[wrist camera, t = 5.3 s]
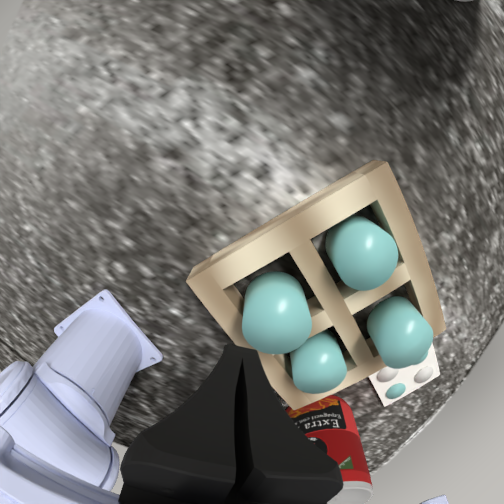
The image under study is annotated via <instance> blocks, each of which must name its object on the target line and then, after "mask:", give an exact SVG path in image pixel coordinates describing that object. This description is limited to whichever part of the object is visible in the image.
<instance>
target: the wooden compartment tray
mask: <svg viewBox="0 0 504 504" xmlns="http://www.w3.org/2000/svg"><path fill="white" fill-rule="evenodd" d="M369 204H370V206H371V208H372V210H373V212H374V214H375V216H376V219H377V221H378V223H379V225H380V227H381V229H383V230H384V231H385V232H387V233H388V234H389V235H390V236H391V237H392V238H393V239H394V241H395V243H396V245H397V249H398V261H397V265H396V268H395V270H394V272H393V274H392V275H391V277H390V278H389V279H388V280H387V281H386V282H385V283H384V284H382V285H381V286H379V287H377V288H375V289H372V290H367V291H361V290H356V289H353V288H351V287H349V286H348V285H346V284H345V283H344V282H343V280H342V281H340V282H338V283H336V284H335V282H334V280H333V278H332V277H331V275H330V273H329V271H328V269H327V268H326V266H325V264H324V262H323V261H322V259H321V257H320V255H319V253H318V252H317V250H316V248H315V246H314V245H313V243H312V241H311V240H310V239H312V238H313V237H315V236H317V235H318V234H320V233H322V232H323V231H325V230H327V229H329V228H330V227H332V226H334V225H335V224H337V223H339V222H340V221H342V220H344V219H345V218H347V217H349V216H351V215H352V214H354V213H356V212H357V211H359V210H361V209H362V208H364V207H366V206H367V205H369ZM288 252H290V254H291V256H292V257H293V259H294V261H295V262H296V264H297V265H298V267H299V269H300V270H301V272H302V274H303V275H304V277H305V279H306V280H307V282H308V283H309V285H310V287H311V288H312V290H313V292H314V293H315V296H313V297H311V298H310V299H308V300H306V301H307V305H308V308H309V312H310V316H311V320H312V329H311V333H310V335H309V337H308V338H310V337H312V336H314V335H316V334H318V333H320V332H322V331H323V330H325V329H327V328H329V327H331V326H333V325H334V327H335V329H336V331H337V332H338V334H339V336H340V337H341V339H342V341H343V343H344V344H345V346H346V348H347V349H348V350H346V351H344V352H343V353H342V355H343V358H344V361H345V364H346V367H347V374H346V377H345V379H344V380H343V381H342V383H341V384H340V385H338V386H337V387H336V388H334V389H332V390H330V391H328V392H325V393H320V394H310V393H305V392H303V391H301V390H299V389H298V388H297V387H296V386H295V384H294V381H293V374H292V366H291V361H290V360H289V358H288V357H287V356H286V354H285V353H284V354H267V353H263V352H260V351H258V350H257V352H258V354H259V357H260V360H261V363H262V366H263V368H264V371H265V373H266V376H267V378H268V380H269V382H270V384H271V386H272V387H273V388H274V389H275V390H276V392H277V393H278V394H279V395H280V396H281V397H282V398H283V399H284V400H285V401H286V403H287V404H288V405H289V406H290V407H291V408H292V409H293V410H296V409H299V408H301V407H304V406H306V405H308V404H311V403H313V402H315V401H318V400H320V399H322V398H325V397H327V396H329V395H331V394H333V393H336V392H338V391H340V390H342V389H344V388H346V387H348V386H350V385H352V384H354V383H356V382H358V381H360V380H362V379H364V378H366V377H368V376H370V375H372V374H374V373H376V372H377V371H379V370H381V369H383V368H385V367H387V366H386V365H385V364H384V362H383V360H382V358H381V356H380V354H379V352H378V350H377V348H376V346H375V344H374V342H373V340H372V339H371V337H370V338H368V339H367V340H365V339H364V337H363V335H362V333H361V331H360V329H359V327H358V325H357V323H356V321H355V319H354V317H353V314H355V313H356V312H358V311H360V310H362V309H363V308H365V307H367V306H369V305H370V304H372V303H374V302H375V301H377V300H379V299H380V298H382V297H384V296H385V295H387V294H389V293H390V292H392V291H393V290H395V289H397V288H398V287H400V286H401V285H403V284H404V285H405V288H406V291H407V293H408V296H409V299H410V302H411V303H412V305H413V306H414V307H415V308H416V309H417V310H418V312H419V313H420V314H421V315H422V316H423V318H424V319H425V320H426V321H427V322H428V324H429V325H430V326H431V328H432V330H433V338H434V337H435V336H437V335H438V334H440V333H441V332H443V331H444V330H446V326H445V321H444V317H443V313H442V309H441V305H440V301H439V297H438V294H437V290H436V287H435V283H434V280H433V276H432V273H431V270H430V267H429V264H428V261H427V258H426V255H425V252H424V249H423V246H422V243H421V240H420V237H419V235H418V232H417V229H416V227H415V224H414V221H413V219H412V216H411V214H410V211H409V209H408V206H407V204H406V202H405V199H404V197H403V195H402V192H401V190H400V188H399V186H398V183H397V181H396V179H395V177H394V175H393V172H392V170H391V168H390V166H389V164H388V162H385V161H377V160H372V161H371V162H369V163H367V164H365V165H364V166H362V167H360V168H358V169H357V170H355V171H353V172H352V173H350V174H348V175H346V176H345V177H343V178H341V179H339V180H338V181H336V182H334V183H333V184H331V185H329V186H327V187H326V188H324V189H322V190H321V191H319V192H317V193H316V194H314V195H312V196H310V197H309V198H307V199H305V200H304V201H302V202H300V203H299V204H297V205H295V206H294V207H292V208H290V209H289V210H287V211H285V212H284V213H282V214H280V215H278V216H277V217H275V218H273V219H272V220H270V221H268V222H267V223H265V224H263V225H262V226H260V227H258V228H257V229H255V230H254V231H252V232H250V233H249V234H247V235H245V236H244V237H242V238H240V239H239V240H237V241H235V242H234V243H232V244H230V245H229V246H227V247H226V248H224V249H222V250H221V251H219V252H217V253H216V254H214V255H212V256H211V257H209V258H208V259H206V260H204V261H203V262H201V263H199V264H198V265H196V266H195V267H193V269H192V271H191V273H190V275H189V277H188V278H187V280H186V282H187V284H188V285H189V286H190V288H191V289H192V290H193V291H194V293H195V294H196V295H197V297H198V298H199V299H200V301H201V302H202V303H203V304H204V306H205V307H206V308H207V309H208V311H209V312H210V313H211V315H212V316H213V317H214V318H215V320H216V321H217V322H218V323H219V325H220V326H221V327H222V328H223V329H224V331H225V332H226V333H227V334H228V336H229V337H230V338H231V339H232V340H233V342H234V343H235V344H236V345H237V346H241V347H245V348H250V349H255V348H253V347H252V346H251V345H250V344H249V343H248V342H247V341H246V339H245V337H244V335H243V332H242V320H243V310H244V301H245V299H244V298H243V297H242V295H241V294H240V293H239V291H238V290H237V288H236V287H235V286H234V284H233V283H235V282H237V281H239V280H240V279H242V278H244V277H246V276H248V275H249V274H251V273H253V272H255V271H256V270H258V269H260V268H261V267H263V266H265V265H267V264H268V263H270V262H272V261H274V260H275V259H277V258H279V257H281V256H282V255H284V254H286V253H288ZM255 350H256V349H255Z"/></svg>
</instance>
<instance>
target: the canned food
mask: <svg viewBox="0 0 504 504" xmlns="http://www.w3.org/2000/svg"><path fill="white" fill-rule="evenodd" d="M285 411H286V412H287V413H288V415H289V416H290V418H291V419H292V420H293V422H294V423H295V424H296V425H297V426H298V428H299V429H300V430H301V431H302V432H303V433H304V434H305V435H306V436H307V437H308V438H309V439H310V440H311V441H312V442H313V443H314V444H315V445H316V446H317V447H318V448H319V449H321V450H322V451H323V452H325V453H326V454H327V455H328V456H330V457H331V458H332V459H334V460H335V461H336V462H338V465H339V468H340V471H341V474H342V479H343V484H344V486H343V489H342V490H341V491H340V492H339V493H338V494H337V495H336V496H335V497H333V498H332V499H331V500H330V501H328V502H327V504H364V503H365V502H367V501H368V500H369V499H370V498H371V497H372V495H373V488H372V483H371V478H370V474H369V470H368V466H367V462H366V459H365V455H364V451H363V448H362V444H361V441H360V437H359V433H358V430H357V427H356V423H355V420H354V416H353V413H352V410H351V408H350V407H349V405H348V404H347V403H346V402H345V401H344V400H343V399H341V398H339V397H337V396H333V395H329V396H327V397H325V398H322V399H320V400H318V401H315V402H313V403H311V404H308V405H306V406H304V407H301V408H299V409H296V410H293V409H292V408H291V407H290V406H289V407H288V408H287V409H286V410H285Z"/></svg>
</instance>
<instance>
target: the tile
mask: <svg viewBox="0 0 504 504" xmlns="http://www.w3.org/2000/svg"><path fill="white" fill-rule="evenodd" d="M439 375H440V372H439V367H438V363H437V359H436V355H435V351H434V347H433V343H432V344H431V346H430V348H429V350H428V351H427V353H426V354H425V355H424V356H423V357H422V358H421V359H420V360H419V361H417V362H416V363H414V364H413V365H411V366H408V367H405V368H401V369H393V368H390V367H388V366H387V367H385V368H383V369H381V370H379V371H377V372H376V373H374V374H372V375H370V376H368V377H369V378H370V380H371V382H372V384H373V386H374V388H375V390H376V391H377V393H378V395H379V397H380V399H381V401H382V403H383V405H384V407H385V406H387V405H389V404H391V403H393V402H395V401H396V400H398V399H400V398H402V397H404V396H406V395H407V394H409V393H411V392H413V391H414V390H416V389H418V388H419V387H421V386H423V385H424V384H426V383H428V382H429V381H431V380H432V379H434V378H436V377H437V376H439Z"/></svg>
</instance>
